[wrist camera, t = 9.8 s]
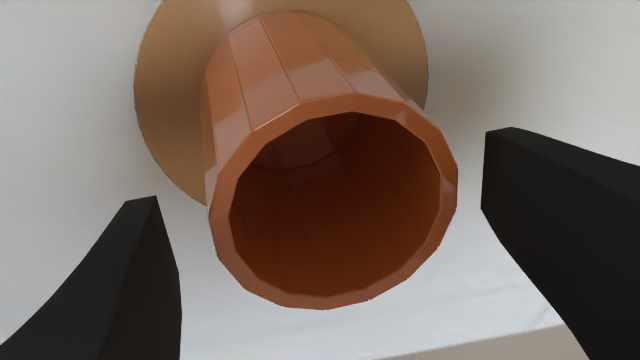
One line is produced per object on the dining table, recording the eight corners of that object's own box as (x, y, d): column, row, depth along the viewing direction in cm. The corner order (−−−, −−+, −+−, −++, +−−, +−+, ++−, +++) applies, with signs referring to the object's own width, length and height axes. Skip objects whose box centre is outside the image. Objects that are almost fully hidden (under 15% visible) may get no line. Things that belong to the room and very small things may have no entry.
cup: (373, 155, 19) (454, 281, 13) (218, 185, 18) (235, 331, 12) (365, -4, 16) (463, 72, 10) (182, 24, 15) (183, 121, 10)
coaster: (423, 189, 20) (427, 194, 20) (173, 239, 19) (173, 246, 19) (424, -82, 16) (430, -81, 15) (93, -38, 14) (91, -35, 14)
